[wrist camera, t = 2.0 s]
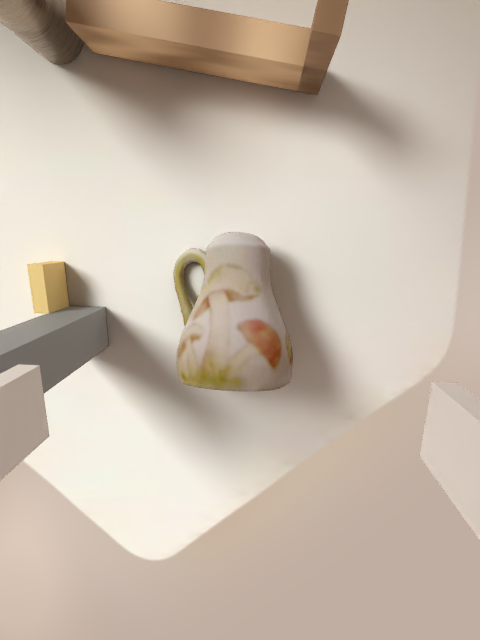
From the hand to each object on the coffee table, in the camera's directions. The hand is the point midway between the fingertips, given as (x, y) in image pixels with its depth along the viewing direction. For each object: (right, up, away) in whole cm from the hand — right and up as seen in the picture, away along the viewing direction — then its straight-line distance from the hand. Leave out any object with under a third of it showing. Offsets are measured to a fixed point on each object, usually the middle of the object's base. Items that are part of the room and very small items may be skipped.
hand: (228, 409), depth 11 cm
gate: (-1, +18, +8) cm, 20 cm away
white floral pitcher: (0, +4, +13) cm, 13 cm away
